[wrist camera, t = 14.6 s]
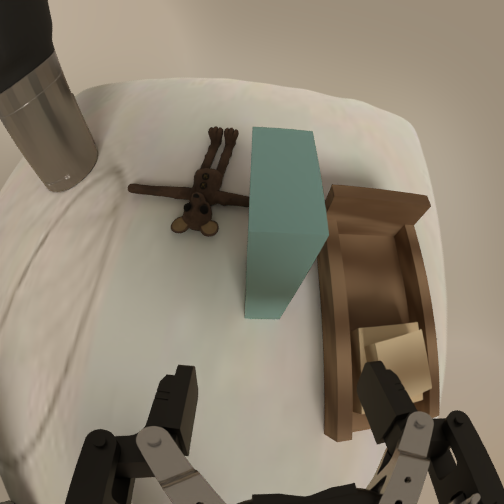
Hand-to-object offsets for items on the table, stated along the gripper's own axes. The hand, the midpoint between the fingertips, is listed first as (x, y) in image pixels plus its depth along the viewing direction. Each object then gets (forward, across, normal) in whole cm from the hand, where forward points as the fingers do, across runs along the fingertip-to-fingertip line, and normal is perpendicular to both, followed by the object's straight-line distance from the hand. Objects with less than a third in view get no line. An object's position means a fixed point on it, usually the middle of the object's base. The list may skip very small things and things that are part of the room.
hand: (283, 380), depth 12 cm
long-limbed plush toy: (+22, -6, +6) cm, 24 cm away
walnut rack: (+11, +10, -4) cm, 15 cm away
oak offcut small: (+5, +10, -5) cm, 12 cm away
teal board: (+13, 0, -2) cm, 14 cm away
